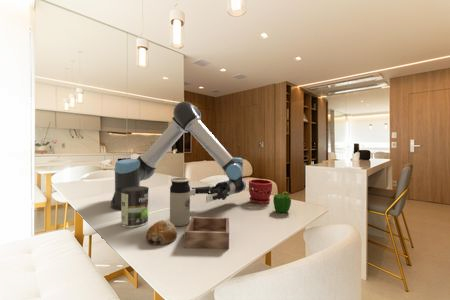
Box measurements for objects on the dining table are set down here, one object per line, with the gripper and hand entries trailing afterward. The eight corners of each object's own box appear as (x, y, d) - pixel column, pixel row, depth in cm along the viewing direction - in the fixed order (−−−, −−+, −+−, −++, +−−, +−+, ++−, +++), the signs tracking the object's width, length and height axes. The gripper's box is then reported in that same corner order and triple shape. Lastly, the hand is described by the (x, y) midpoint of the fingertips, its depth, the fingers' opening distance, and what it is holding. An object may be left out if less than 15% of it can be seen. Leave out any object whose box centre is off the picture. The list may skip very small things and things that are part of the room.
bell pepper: (269, 211, 108) (269, 191, 107) (278, 208, 114) (278, 188, 113) (284, 215, 102) (285, 194, 101) (293, 212, 108) (294, 191, 107)
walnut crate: (184, 247, 69) (184, 232, 69) (191, 230, 83) (191, 217, 83) (228, 248, 69) (229, 233, 69) (228, 230, 83) (228, 217, 83)
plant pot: (243, 201, 125) (244, 180, 125) (258, 197, 134) (259, 178, 134) (261, 206, 115) (261, 184, 115) (276, 202, 124) (277, 181, 124)
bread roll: (178, 251, 74) (186, 227, 76) (153, 248, 67) (163, 221, 69) (162, 242, 81) (170, 220, 83) (137, 238, 74) (147, 214, 76)
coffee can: (153, 219, 93) (153, 186, 93) (139, 229, 83) (139, 192, 83) (131, 217, 95) (131, 185, 95) (115, 226, 85) (115, 190, 85)
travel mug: (165, 223, 89) (165, 179, 88) (179, 218, 96) (180, 177, 95) (179, 228, 85) (180, 181, 84) (193, 222, 91) (194, 179, 91)
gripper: (245, 200, 106) (217, 210, 89) (206, 192, 121) (176, 200, 104) (245, 184, 106) (217, 192, 89) (206, 178, 121) (176, 184, 104)
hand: (195, 196), depth 96 cm, fingers open, 13 cm apart
